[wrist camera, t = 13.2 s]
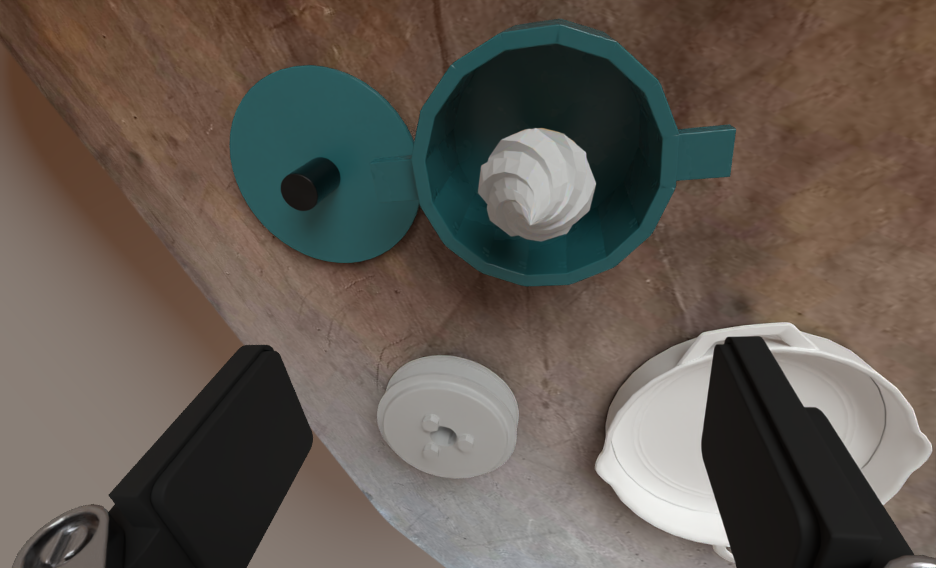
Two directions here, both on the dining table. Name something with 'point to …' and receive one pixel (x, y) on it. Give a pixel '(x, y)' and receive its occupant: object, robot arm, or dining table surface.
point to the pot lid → (320, 162)
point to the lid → (449, 417)
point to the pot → (563, 110)
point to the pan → (682, 418)
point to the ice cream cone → (536, 184)
